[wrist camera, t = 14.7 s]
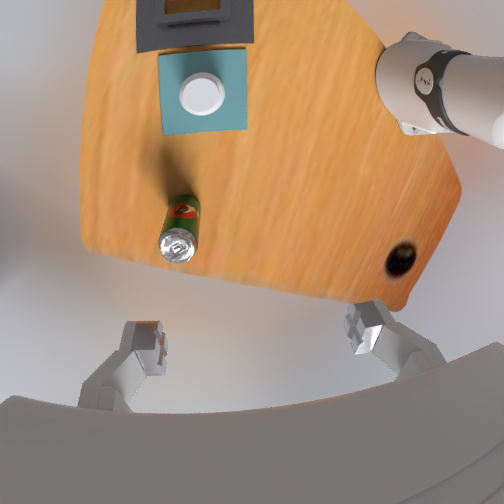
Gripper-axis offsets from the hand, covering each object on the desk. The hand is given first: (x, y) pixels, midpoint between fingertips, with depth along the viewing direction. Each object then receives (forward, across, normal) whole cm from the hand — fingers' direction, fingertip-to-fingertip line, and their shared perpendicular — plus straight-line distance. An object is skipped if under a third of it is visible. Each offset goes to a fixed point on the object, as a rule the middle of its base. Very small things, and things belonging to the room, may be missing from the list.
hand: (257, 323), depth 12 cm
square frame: (+34, +4, -23) cm, 41 cm away
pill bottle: (+34, +3, -8) cm, 35 cm away
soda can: (+34, +7, +10) cm, 36 cm away
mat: (+34, +3, -8) cm, 35 cm away
